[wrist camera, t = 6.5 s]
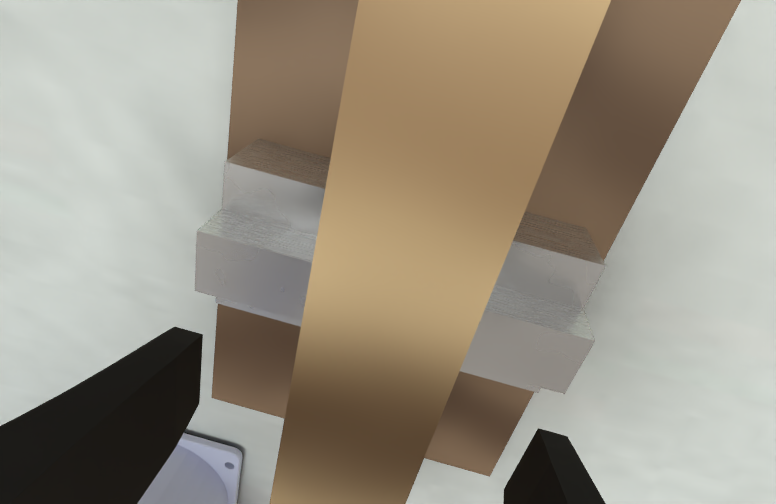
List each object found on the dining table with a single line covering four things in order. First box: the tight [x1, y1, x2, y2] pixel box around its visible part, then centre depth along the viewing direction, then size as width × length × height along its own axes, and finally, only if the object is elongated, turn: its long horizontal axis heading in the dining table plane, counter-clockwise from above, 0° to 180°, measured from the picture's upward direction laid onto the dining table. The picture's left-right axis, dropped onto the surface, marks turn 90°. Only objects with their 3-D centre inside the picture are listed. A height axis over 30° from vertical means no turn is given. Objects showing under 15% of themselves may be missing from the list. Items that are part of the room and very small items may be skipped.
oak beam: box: [270, 0, 611, 504], centre depth 12 cm, size 22×3×4 cm, turn 167°
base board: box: [212, 0, 741, 476], centre depth 17 cm, size 20×13×1 cm, turn 167°
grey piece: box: [195, 139, 606, 394], centre depth 15 cm, size 5×11×4 cm, turn 77°
